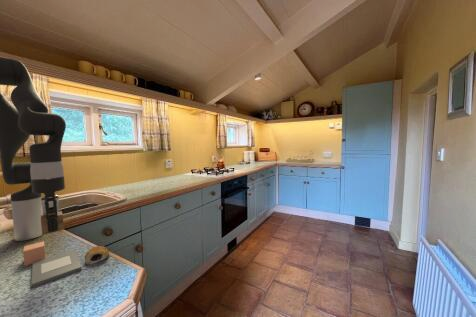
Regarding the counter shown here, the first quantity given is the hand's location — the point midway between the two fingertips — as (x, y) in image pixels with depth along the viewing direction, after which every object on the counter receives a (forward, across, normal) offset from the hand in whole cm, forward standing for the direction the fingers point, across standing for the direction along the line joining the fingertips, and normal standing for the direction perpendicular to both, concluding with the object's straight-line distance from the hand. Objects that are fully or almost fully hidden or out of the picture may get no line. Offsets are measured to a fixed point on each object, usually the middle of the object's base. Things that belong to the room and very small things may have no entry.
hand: (52, 228), depth 63 cm
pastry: (+13, +3, +10) cm, 17 cm away
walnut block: (0, 0, 0) cm, 0 cm away
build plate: (+13, 0, 0) cm, 13 cm away
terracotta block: (+13, -12, -5) cm, 18 cm away
